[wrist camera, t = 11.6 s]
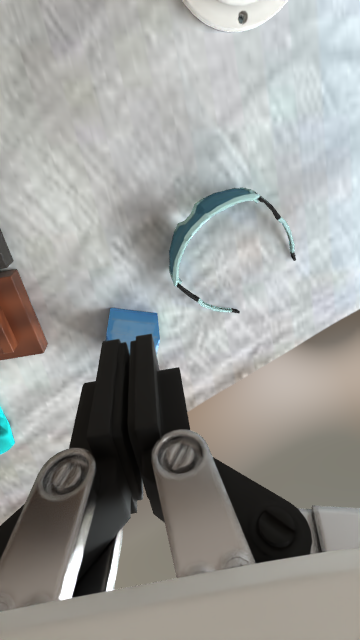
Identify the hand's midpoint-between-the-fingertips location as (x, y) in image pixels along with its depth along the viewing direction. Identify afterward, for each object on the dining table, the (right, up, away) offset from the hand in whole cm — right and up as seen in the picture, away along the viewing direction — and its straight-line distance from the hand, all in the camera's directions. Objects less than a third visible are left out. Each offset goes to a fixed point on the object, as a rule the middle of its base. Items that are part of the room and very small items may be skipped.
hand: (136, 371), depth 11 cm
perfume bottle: (-5, +1, +33) cm, 34 cm away
